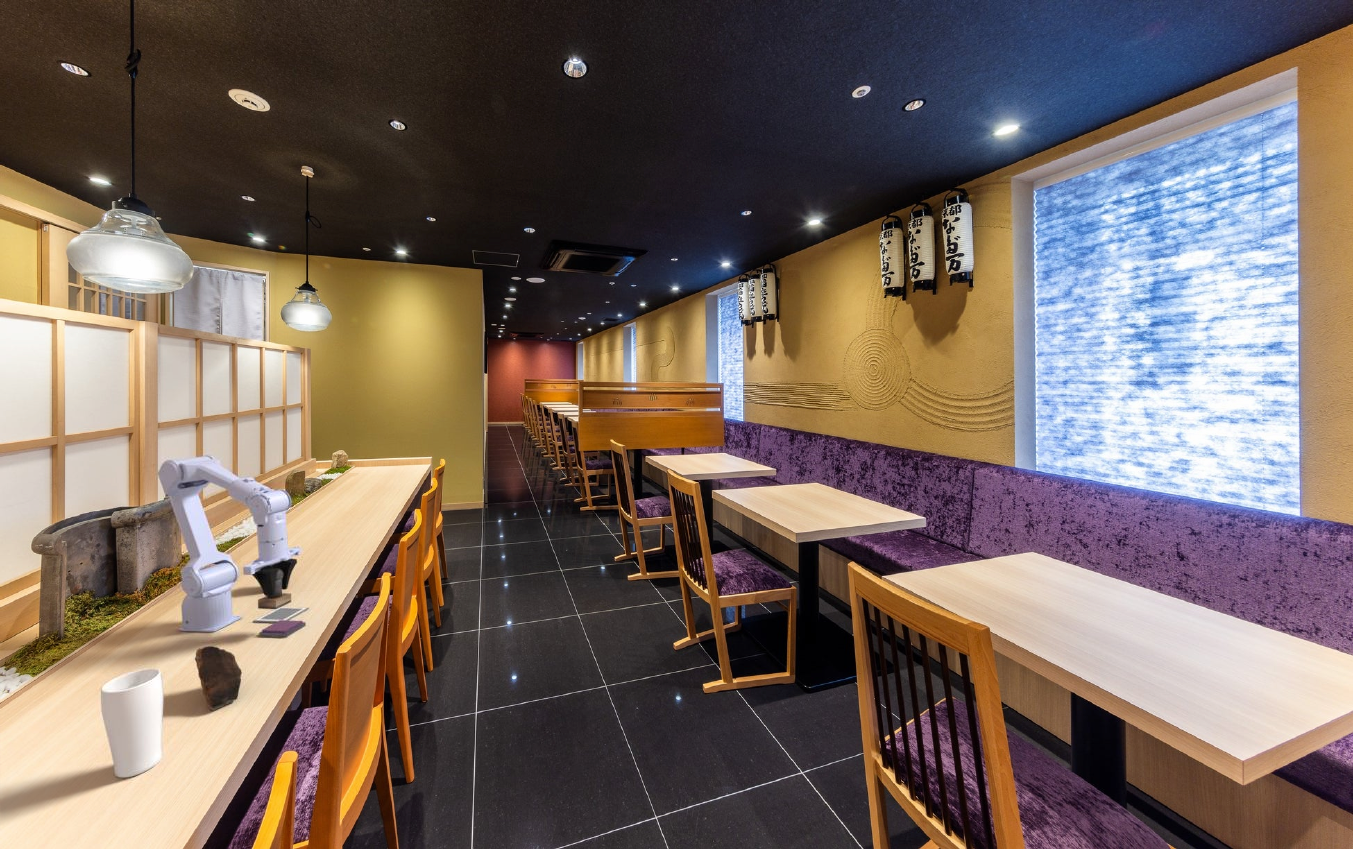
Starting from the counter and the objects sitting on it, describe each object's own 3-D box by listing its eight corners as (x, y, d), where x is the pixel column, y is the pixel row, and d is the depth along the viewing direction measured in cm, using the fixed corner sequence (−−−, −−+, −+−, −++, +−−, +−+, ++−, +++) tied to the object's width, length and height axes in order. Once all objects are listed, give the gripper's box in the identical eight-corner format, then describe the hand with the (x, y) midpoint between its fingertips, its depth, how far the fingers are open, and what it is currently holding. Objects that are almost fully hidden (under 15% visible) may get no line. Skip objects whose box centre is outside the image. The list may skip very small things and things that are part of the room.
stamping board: (252, 622, 130) (252, 620, 130) (280, 608, 138) (280, 606, 138) (283, 623, 130) (283, 621, 130) (308, 608, 138) (308, 607, 138)
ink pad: (259, 636, 123) (258, 630, 123) (279, 624, 129) (279, 619, 129) (286, 637, 123) (285, 631, 122) (305, 625, 128) (305, 620, 128)
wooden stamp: (258, 608, 122) (257, 571, 122) (274, 601, 127) (273, 565, 126) (275, 609, 122) (275, 572, 121) (291, 602, 126) (291, 566, 126)
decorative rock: (195, 691, 101) (191, 640, 100) (234, 678, 106) (230, 629, 105) (204, 716, 93) (200, 662, 92) (246, 701, 98) (242, 649, 97)
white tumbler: (163, 745, 86) (157, 663, 85) (173, 763, 82) (166, 676, 81) (104, 770, 80) (96, 682, 79) (111, 790, 76) (103, 698, 75)
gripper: (261, 549, 116) (265, 605, 117) (311, 530, 130) (314, 581, 131) (233, 548, 116) (237, 604, 117) (285, 530, 131) (288, 580, 132)
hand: (276, 592), depth 124 cm, fingers closed on wooden stamp, 3 cm apart
